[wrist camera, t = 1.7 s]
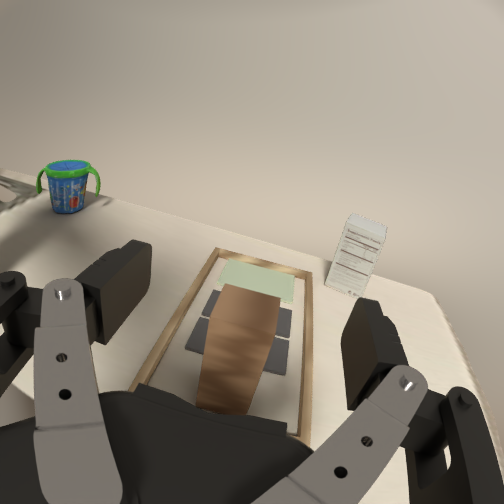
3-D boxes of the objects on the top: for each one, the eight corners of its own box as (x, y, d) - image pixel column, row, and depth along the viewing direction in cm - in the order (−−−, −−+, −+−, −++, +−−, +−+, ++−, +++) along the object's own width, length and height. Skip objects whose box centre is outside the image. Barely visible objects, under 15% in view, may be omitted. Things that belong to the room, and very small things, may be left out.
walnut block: (195, 406, 28) (209, 316, 23) (208, 372, 33) (225, 283, 27) (244, 419, 28) (275, 334, 23) (252, 384, 32) (280, 297, 27)
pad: (216, 284, 49) (217, 282, 49) (228, 260, 56) (229, 258, 56) (291, 304, 48) (292, 302, 48) (294, 277, 56) (294, 275, 56)
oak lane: (125, 402, 26) (124, 395, 26) (214, 253, 58) (215, 247, 57) (305, 452, 25) (309, 446, 25) (310, 278, 57) (312, 272, 56)
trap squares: (185, 348, 35) (185, 346, 35) (213, 291, 47) (213, 289, 47) (284, 375, 34) (285, 373, 34) (291, 312, 46) (291, 310, 46)
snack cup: (29, 213, 55) (27, 168, 51) (49, 198, 64) (49, 157, 60) (89, 221, 58) (91, 173, 54) (104, 204, 67) (107, 162, 63)
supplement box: (331, 270, 62) (352, 211, 56) (365, 284, 59) (388, 226, 54) (322, 285, 55) (345, 220, 50) (360, 301, 53) (386, 237, 48)
